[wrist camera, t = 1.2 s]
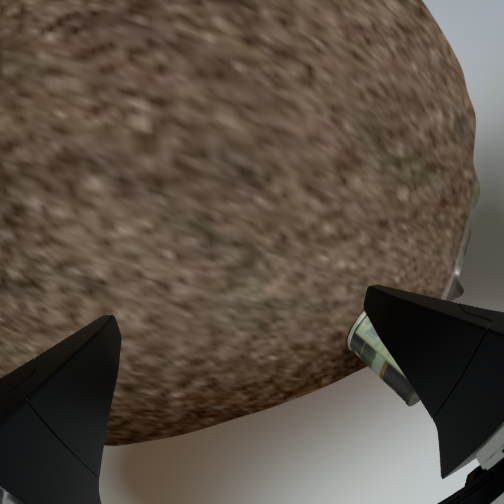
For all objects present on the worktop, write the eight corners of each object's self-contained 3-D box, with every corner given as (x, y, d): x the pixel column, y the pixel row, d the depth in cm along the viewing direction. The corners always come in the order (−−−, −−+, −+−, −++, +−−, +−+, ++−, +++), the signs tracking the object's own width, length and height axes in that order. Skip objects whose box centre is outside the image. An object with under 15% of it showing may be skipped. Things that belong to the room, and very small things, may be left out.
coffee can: (373, 347, 49) (428, 396, 38) (336, 353, 44) (397, 415, 33) (401, 297, 46) (464, 344, 35) (367, 296, 41) (441, 355, 30)
